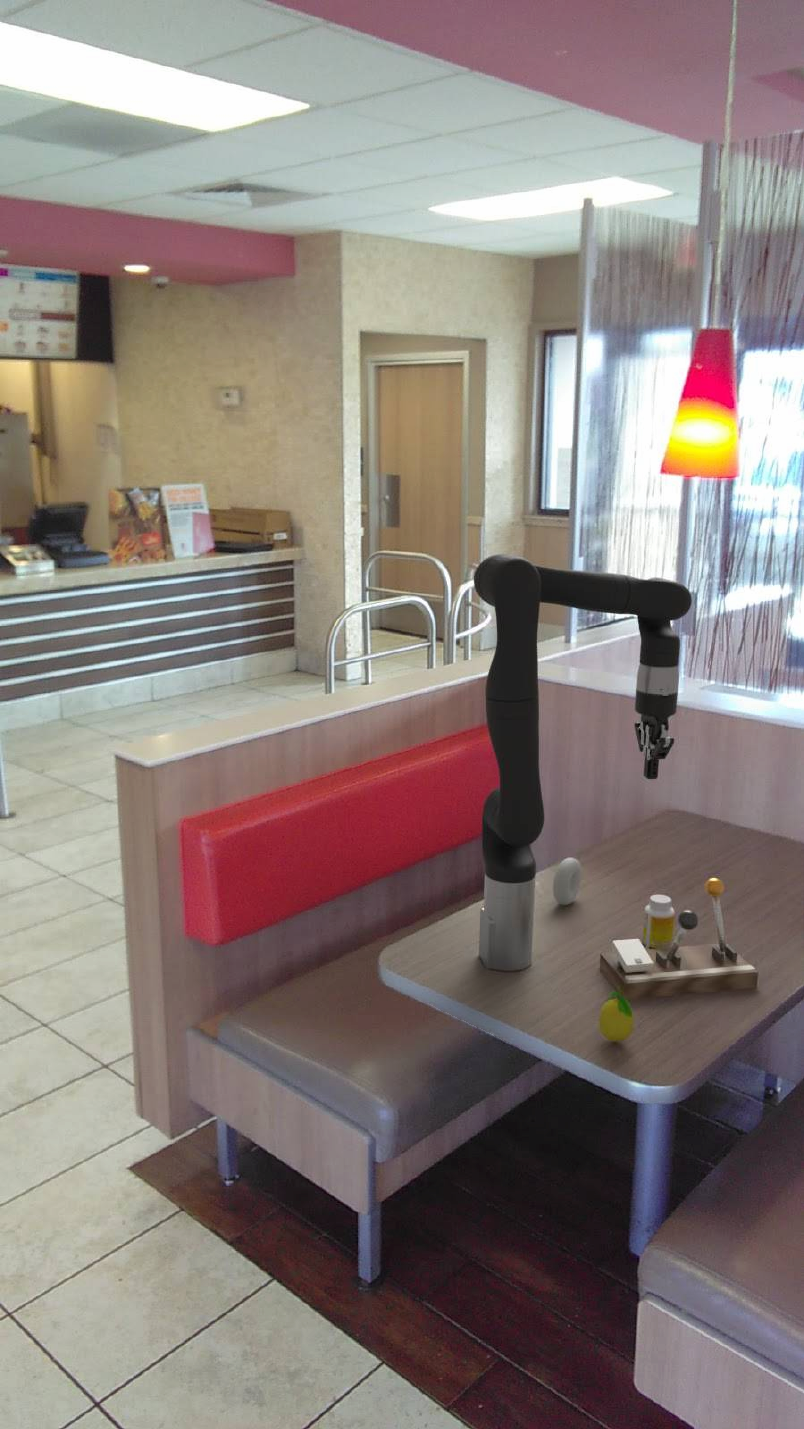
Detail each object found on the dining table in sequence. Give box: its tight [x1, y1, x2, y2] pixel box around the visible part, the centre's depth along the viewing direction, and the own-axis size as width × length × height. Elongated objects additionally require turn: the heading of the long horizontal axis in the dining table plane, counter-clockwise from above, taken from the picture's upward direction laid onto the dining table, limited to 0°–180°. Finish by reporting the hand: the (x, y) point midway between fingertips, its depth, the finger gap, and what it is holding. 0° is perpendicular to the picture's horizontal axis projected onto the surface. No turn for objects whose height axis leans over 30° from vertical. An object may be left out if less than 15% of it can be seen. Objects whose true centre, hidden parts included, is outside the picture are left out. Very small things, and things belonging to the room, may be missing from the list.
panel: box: [599, 942, 759, 1000], centre depth 203 cm, size 25×12×5 cm, turn 102°
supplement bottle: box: [642, 894, 675, 950], centre depth 214 cm, size 6×6×10 cm
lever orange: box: [704, 877, 727, 952], centre depth 206 cm, size 3×3×14 cm
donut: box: [552, 857, 583, 906], centre depth 234 cm, size 10×4×10 cm, turn 149°
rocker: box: [611, 938, 654, 973], centre depth 201 cm, size 5×7×2 cm
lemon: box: [598, 986, 635, 1043], centre depth 181 cm, size 7×6×10 cm
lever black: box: [666, 909, 699, 961], centre depth 197 cm, size 3×3×14 cm
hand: (650, 777), depth 211 cm, fingers closed
